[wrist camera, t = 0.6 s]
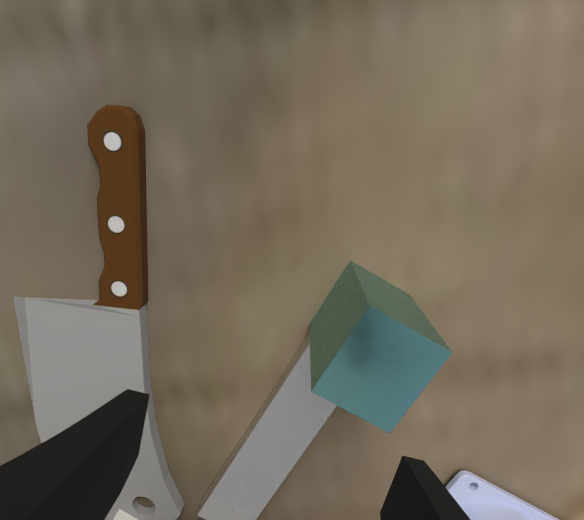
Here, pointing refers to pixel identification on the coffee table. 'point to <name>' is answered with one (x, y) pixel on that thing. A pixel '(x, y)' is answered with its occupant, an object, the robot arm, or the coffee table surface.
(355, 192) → the coffee table surface
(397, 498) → the robot arm
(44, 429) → the kitchen cleaver
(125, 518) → the cream shelf
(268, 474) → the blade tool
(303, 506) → the coffee table surface
